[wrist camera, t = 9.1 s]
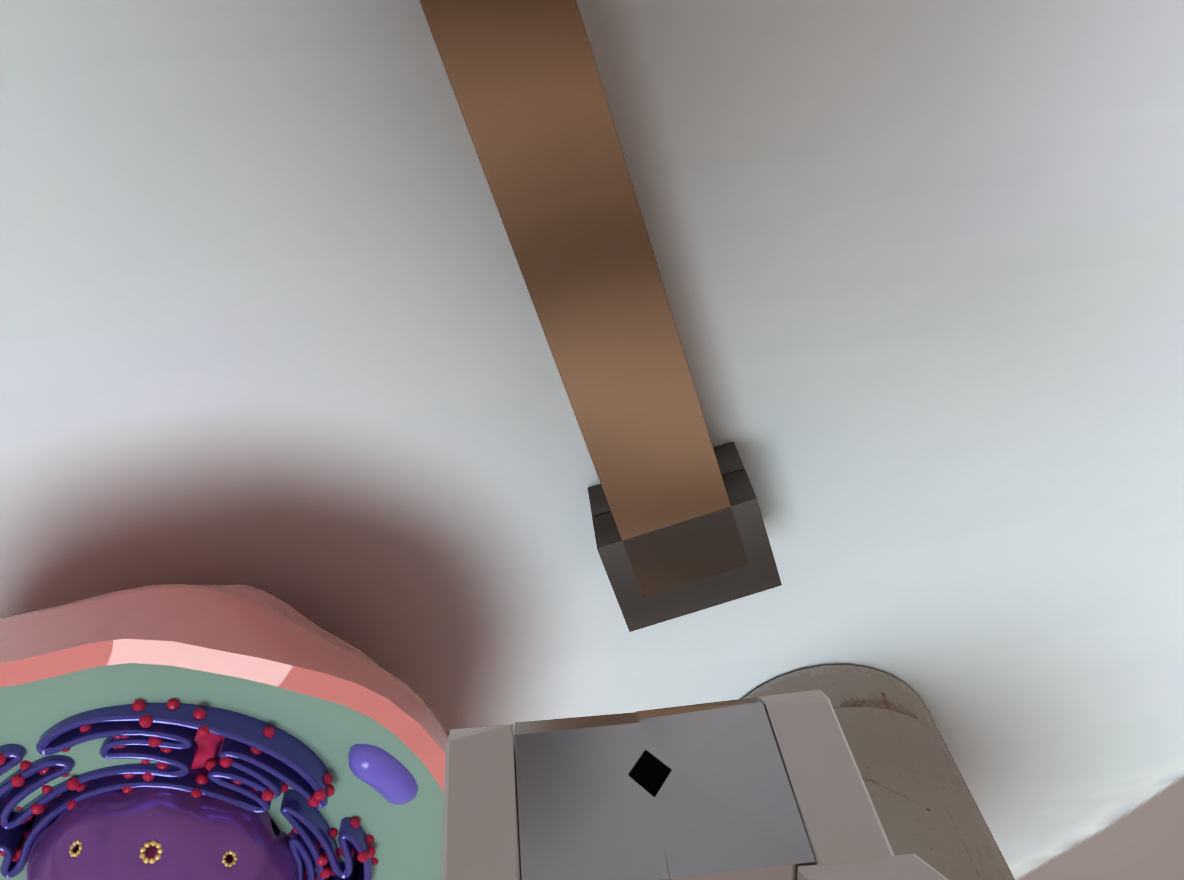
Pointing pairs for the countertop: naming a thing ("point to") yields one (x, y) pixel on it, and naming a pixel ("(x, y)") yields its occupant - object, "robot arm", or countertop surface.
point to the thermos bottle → (904, 769)
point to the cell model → (209, 745)
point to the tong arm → (601, 306)
